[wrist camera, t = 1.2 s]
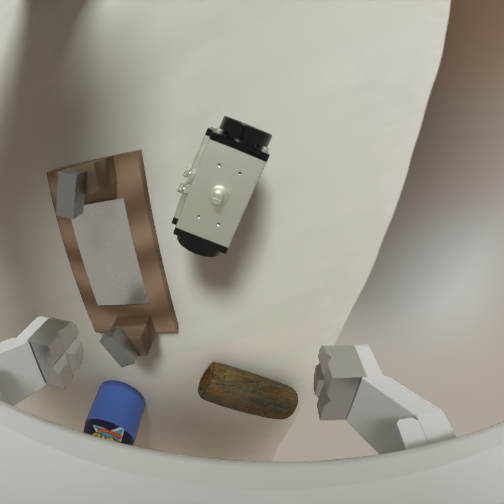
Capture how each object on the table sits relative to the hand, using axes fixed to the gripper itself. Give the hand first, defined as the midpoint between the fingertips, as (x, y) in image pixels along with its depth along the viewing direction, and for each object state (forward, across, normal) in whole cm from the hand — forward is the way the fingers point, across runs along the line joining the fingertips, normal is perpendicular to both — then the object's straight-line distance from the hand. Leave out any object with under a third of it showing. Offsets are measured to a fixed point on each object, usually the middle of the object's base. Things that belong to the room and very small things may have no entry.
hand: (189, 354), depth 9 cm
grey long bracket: (+26, +16, +7) cm, 31 cm away
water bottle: (+29, +21, +37) cm, 52 cm away
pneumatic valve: (+27, +2, -3) cm, 28 cm away
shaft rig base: (+27, +16, +7) cm, 33 cm away
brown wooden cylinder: (+30, -2, +29) cm, 41 cm away
